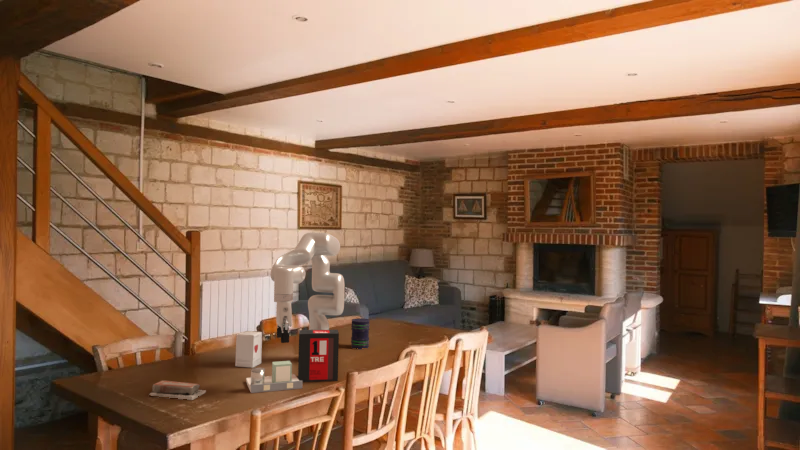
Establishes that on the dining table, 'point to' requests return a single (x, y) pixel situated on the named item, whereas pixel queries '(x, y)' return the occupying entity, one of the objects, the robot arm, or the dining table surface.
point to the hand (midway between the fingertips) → (282, 340)
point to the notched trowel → (176, 390)
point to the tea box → (281, 371)
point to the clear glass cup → (257, 376)
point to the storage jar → (360, 333)
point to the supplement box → (248, 349)
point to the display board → (274, 385)
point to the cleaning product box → (318, 355)
